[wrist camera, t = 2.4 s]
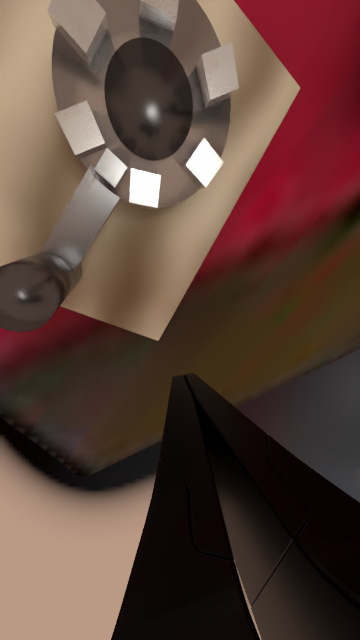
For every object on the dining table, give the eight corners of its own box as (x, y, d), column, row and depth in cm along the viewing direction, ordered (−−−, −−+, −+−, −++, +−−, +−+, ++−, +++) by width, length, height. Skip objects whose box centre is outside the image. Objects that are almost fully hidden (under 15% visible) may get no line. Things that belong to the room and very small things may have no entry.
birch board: (285, 99, 15) (302, 86, 14) (156, 333, 22) (158, 342, 20) (-140, -421, 7) (-217, -604, 5) (-149, 221, 13) (-185, 221, 12)
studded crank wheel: (124, -41, 10) (117, -480, 4) (237, 125, 14) (328, 48, 8) (-18, 246, 14) (-142, 268, 7) (104, 313, 18) (91, 365, 11)
